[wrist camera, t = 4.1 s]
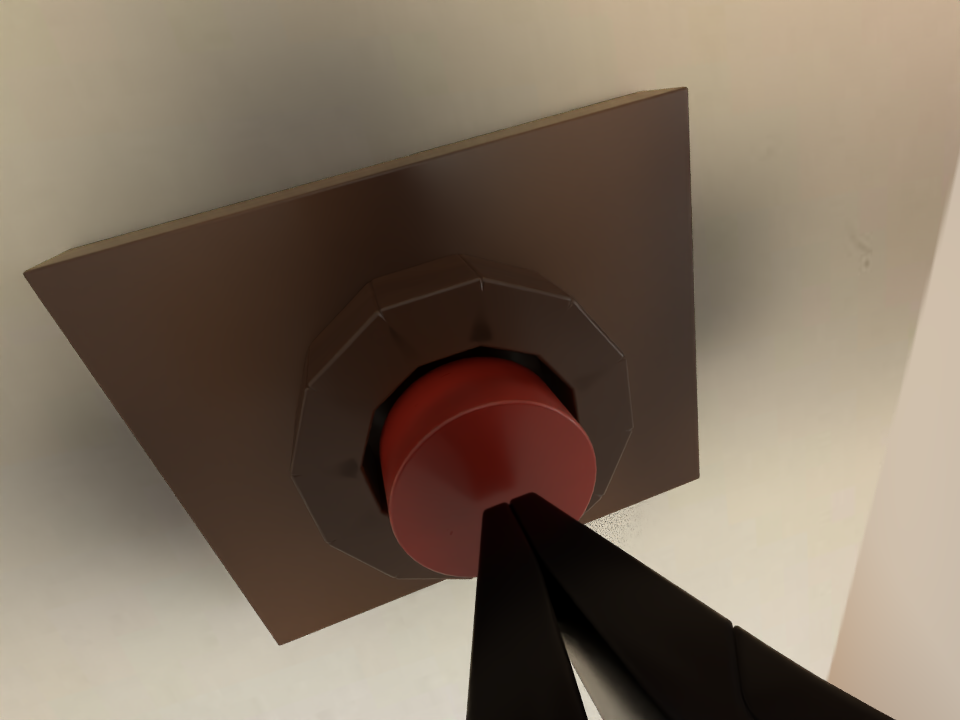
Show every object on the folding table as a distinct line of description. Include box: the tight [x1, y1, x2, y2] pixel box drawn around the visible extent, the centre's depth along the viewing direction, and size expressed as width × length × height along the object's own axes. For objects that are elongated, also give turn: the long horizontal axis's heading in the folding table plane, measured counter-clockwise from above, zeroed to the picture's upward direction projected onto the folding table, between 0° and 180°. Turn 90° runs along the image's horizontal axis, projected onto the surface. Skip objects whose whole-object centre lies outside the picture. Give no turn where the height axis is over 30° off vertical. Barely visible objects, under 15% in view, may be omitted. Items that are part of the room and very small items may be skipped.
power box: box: [23, 87, 700, 645], centre depth 11 cm, size 12×10×4 cm
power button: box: [379, 357, 597, 578], centre depth 9 cm, size 4×4×2 cm
